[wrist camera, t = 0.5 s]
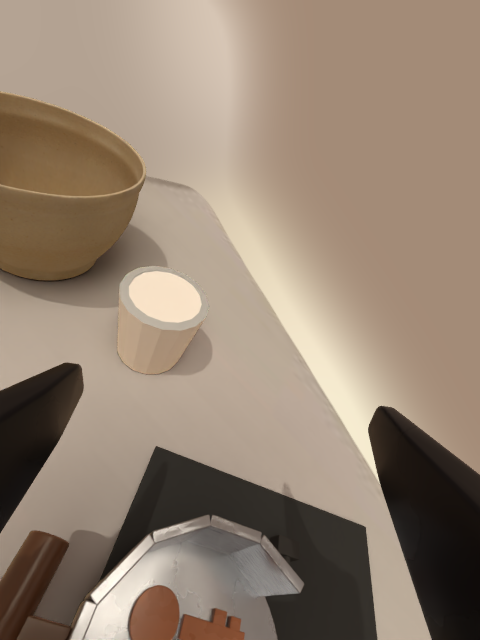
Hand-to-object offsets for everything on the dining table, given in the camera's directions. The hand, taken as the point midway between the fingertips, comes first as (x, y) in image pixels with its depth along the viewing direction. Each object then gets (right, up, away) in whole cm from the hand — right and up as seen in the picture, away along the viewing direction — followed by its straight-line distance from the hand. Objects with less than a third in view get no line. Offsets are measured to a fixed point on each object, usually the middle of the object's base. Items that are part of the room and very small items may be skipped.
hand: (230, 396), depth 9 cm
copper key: (-2, -13, +6) cm, 15 cm away
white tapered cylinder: (-8, 0, +19) cm, 20 cm away
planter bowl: (-20, +9, +21) cm, 30 cm away
